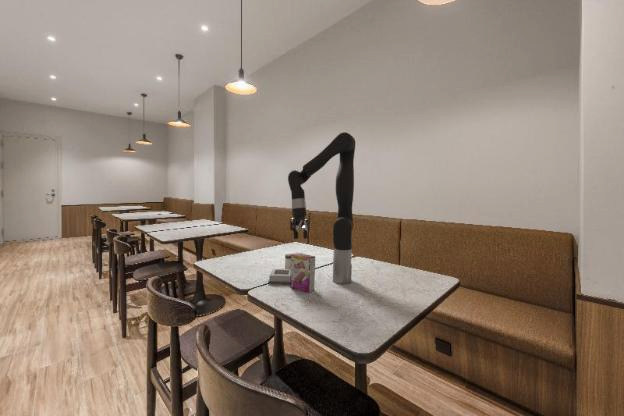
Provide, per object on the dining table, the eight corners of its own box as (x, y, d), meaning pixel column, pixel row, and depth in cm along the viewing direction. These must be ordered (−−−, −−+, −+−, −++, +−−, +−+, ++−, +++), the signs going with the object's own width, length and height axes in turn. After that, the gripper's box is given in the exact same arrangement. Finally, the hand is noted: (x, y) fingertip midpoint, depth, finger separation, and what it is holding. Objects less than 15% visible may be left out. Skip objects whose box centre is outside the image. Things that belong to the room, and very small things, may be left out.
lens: (294, 271, 153) (294, 254, 153) (293, 274, 148) (294, 256, 147) (285, 271, 153) (285, 253, 153) (284, 274, 148) (284, 256, 147)
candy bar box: (289, 287, 129) (290, 254, 127) (295, 284, 133) (296, 252, 132) (309, 293, 123) (310, 258, 121) (314, 289, 127) (315, 255, 126)
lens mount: (294, 276, 145) (294, 268, 144) (292, 284, 133) (292, 276, 132) (271, 275, 145) (271, 268, 144) (268, 284, 133) (268, 275, 132)
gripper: (296, 206, 135) (299, 238, 133) (312, 208, 147) (314, 237, 145) (285, 208, 139) (287, 239, 137) (300, 209, 151) (302, 238, 149)
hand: (301, 238), depth 141 cm, fingers open, 8 cm apart
